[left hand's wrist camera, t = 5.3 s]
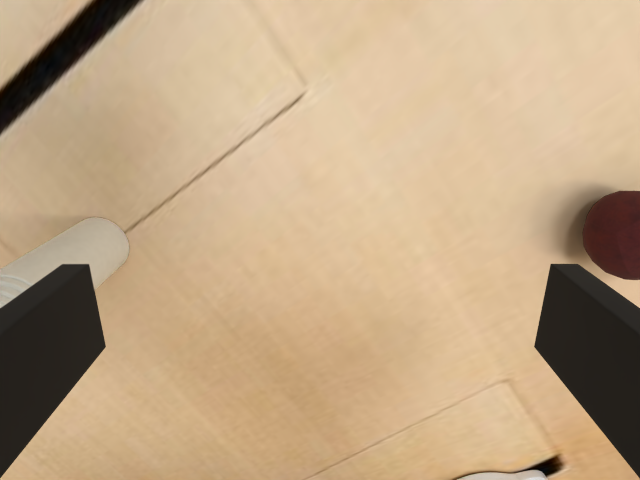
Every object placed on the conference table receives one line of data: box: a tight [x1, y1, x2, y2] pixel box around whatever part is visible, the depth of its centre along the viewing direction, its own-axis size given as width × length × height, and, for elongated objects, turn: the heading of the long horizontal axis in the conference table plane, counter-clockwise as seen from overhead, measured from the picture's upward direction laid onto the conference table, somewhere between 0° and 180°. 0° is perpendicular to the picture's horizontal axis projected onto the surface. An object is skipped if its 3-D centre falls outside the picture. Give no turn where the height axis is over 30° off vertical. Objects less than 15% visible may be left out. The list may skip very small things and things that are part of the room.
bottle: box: [0, 217, 129, 308], centre depth 34 cm, size 6×6×18 cm
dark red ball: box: [583, 191, 640, 280], centre depth 38 cm, size 7×8×7 cm
